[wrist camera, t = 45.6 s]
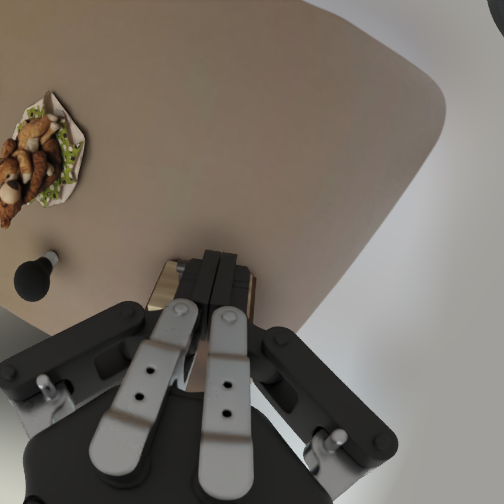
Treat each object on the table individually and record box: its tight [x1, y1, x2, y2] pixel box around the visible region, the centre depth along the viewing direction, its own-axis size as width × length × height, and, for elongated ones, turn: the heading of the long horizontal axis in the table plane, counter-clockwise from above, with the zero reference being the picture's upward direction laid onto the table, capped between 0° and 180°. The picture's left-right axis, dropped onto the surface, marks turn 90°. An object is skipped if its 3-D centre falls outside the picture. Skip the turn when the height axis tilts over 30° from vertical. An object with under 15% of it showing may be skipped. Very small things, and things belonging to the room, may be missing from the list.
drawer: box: [148, 260, 253, 319], centre depth 40 cm, size 18×11×9 cm, turn 171°
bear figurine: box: [0, 90, 85, 230], centre depth 28 cm, size 14×15×12 cm
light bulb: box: [14, 251, 58, 302], centre depth 39 cm, size 6×6×10 cm
